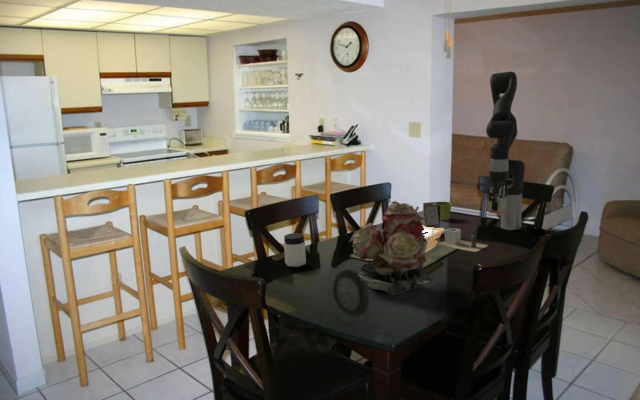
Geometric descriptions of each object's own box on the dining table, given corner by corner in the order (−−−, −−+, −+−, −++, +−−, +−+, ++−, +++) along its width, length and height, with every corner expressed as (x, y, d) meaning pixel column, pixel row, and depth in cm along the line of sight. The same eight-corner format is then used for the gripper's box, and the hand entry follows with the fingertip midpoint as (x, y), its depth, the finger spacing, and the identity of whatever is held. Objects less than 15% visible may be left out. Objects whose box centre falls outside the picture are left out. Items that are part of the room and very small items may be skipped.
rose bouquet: (345, 277, 199) (342, 200, 193) (412, 265, 209) (411, 191, 203) (376, 301, 176) (374, 214, 169) (449, 286, 186) (450, 204, 179)
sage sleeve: (494, 210, 224) (494, 196, 223) (505, 212, 221) (506, 198, 219) (489, 212, 220) (489, 198, 219) (500, 214, 217) (501, 200, 216)
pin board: (451, 240, 238) (451, 227, 237) (488, 247, 226) (489, 233, 225) (437, 247, 230) (437, 233, 229) (475, 254, 218) (475, 240, 216)
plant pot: (441, 216, 282) (441, 200, 280) (455, 219, 275) (456, 203, 273) (430, 219, 276) (430, 203, 275) (444, 222, 269) (445, 206, 267)
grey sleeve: (450, 240, 235) (450, 227, 233) (460, 242, 231) (460, 229, 230) (444, 243, 231) (444, 230, 230) (455, 245, 228) (455, 231, 226)
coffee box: (440, 240, 240) (440, 205, 237) (426, 240, 240) (426, 206, 237) (436, 234, 249) (436, 201, 245) (422, 235, 249) (422, 202, 246)
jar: (283, 261, 220) (281, 234, 217) (302, 259, 222) (300, 231, 220) (288, 268, 212) (286, 239, 209) (307, 265, 214) (306, 237, 211)
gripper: (497, 166, 224) (496, 205, 228) (482, 171, 214) (481, 211, 218) (514, 167, 219) (513, 207, 223) (499, 172, 209) (498, 213, 213)
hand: (497, 209), depth 220 cm, fingers closed on sage sleeve, 5 cm apart
